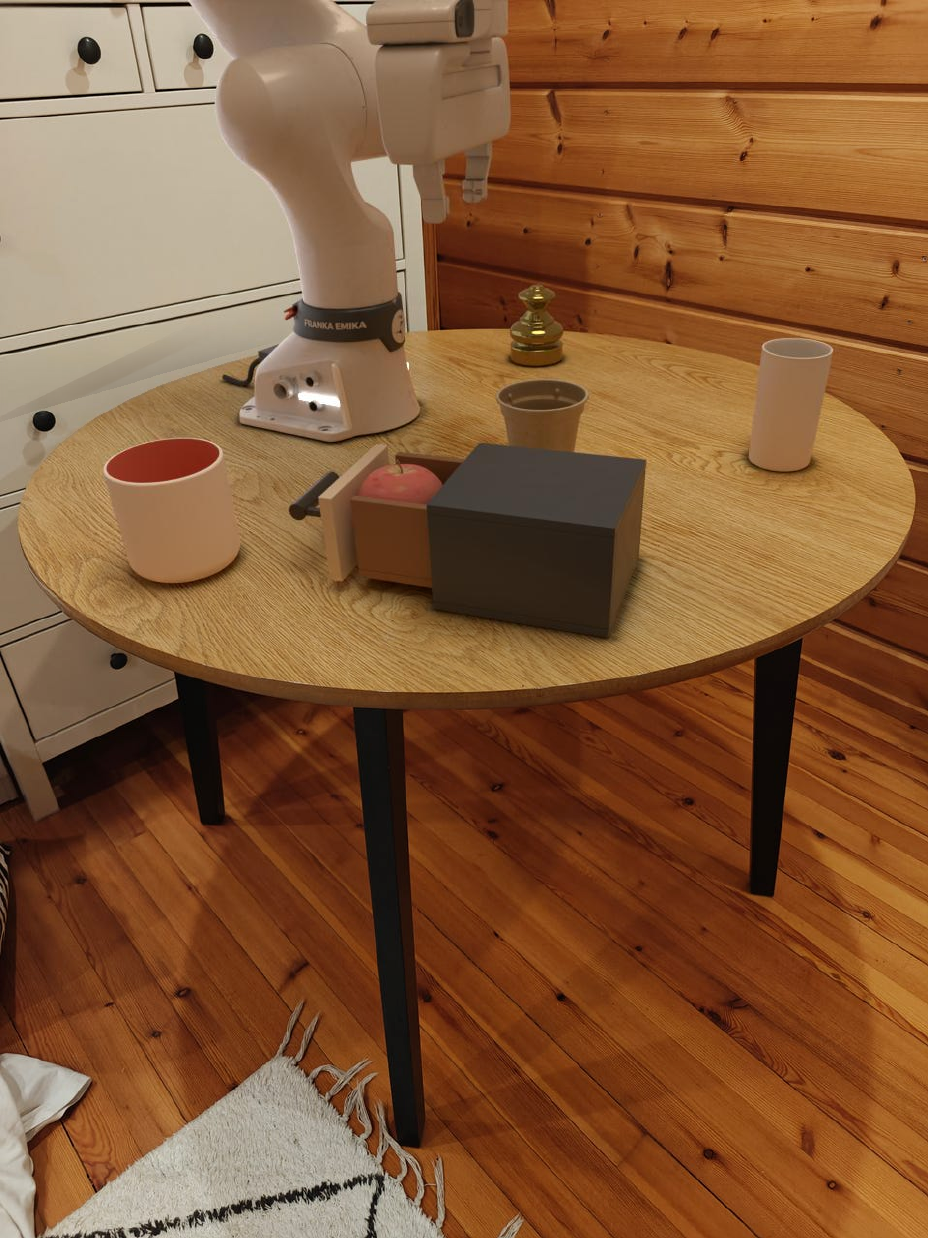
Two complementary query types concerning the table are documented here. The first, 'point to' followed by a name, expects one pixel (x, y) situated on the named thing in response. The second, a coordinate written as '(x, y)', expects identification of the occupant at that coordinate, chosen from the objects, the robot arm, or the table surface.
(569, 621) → the cabinet
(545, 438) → the flower pot
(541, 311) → the gold chess piece
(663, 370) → the table surface
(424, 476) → the apple
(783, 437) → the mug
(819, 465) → the table surface
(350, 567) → the drawer
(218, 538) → the cup
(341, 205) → the robot arm
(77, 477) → the table surface
